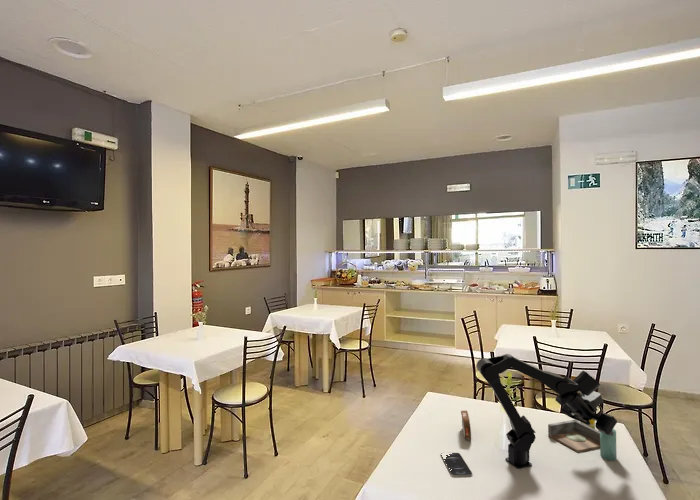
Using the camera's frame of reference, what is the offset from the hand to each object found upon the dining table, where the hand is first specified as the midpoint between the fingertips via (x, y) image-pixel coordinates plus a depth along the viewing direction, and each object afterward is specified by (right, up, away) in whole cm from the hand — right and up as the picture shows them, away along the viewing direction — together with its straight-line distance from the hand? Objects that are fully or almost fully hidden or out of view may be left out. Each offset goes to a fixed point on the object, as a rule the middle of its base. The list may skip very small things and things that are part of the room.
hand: (600, 429), depth 142 cm
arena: (-1, -11, +13) cm, 17 cm away
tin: (-43, -12, +20) cm, 49 cm away
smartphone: (-54, -12, -3) cm, 55 cm away
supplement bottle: (+11, -11, +25) cm, 30 cm away
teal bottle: (+4, -11, +1) cm, 11 cm away
